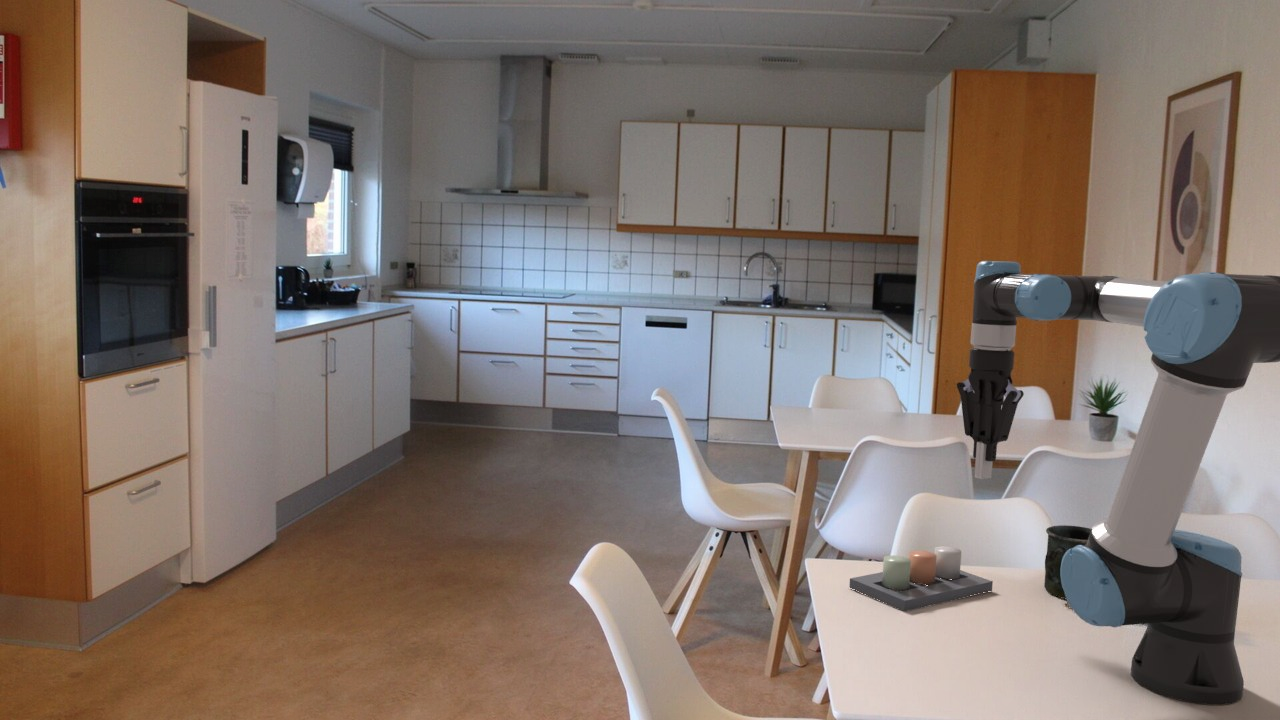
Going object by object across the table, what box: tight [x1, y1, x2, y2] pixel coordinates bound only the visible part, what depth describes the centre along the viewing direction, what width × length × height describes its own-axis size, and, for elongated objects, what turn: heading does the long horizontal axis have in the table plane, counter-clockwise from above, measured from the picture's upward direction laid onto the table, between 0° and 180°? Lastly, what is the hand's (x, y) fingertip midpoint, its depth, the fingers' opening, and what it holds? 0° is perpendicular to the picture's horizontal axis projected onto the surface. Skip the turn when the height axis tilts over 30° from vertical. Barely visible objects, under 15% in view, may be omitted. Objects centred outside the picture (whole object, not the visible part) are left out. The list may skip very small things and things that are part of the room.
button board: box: [849, 569, 994, 612], centre depth 196 cm, size 14×24×2 cm, turn 122°
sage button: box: [882, 555, 911, 591], centre depth 192 cm, size 5×5×5 cm
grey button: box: [934, 545, 962, 580], centre depth 199 cm, size 5×5×5 cm
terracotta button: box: [909, 550, 937, 585], centre depth 196 cm, size 5×5×5 cm
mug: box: [1043, 524, 1092, 600], centre depth 196 cm, size 11×15×12 cm
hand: (982, 477), depth 184 cm, fingers closed
